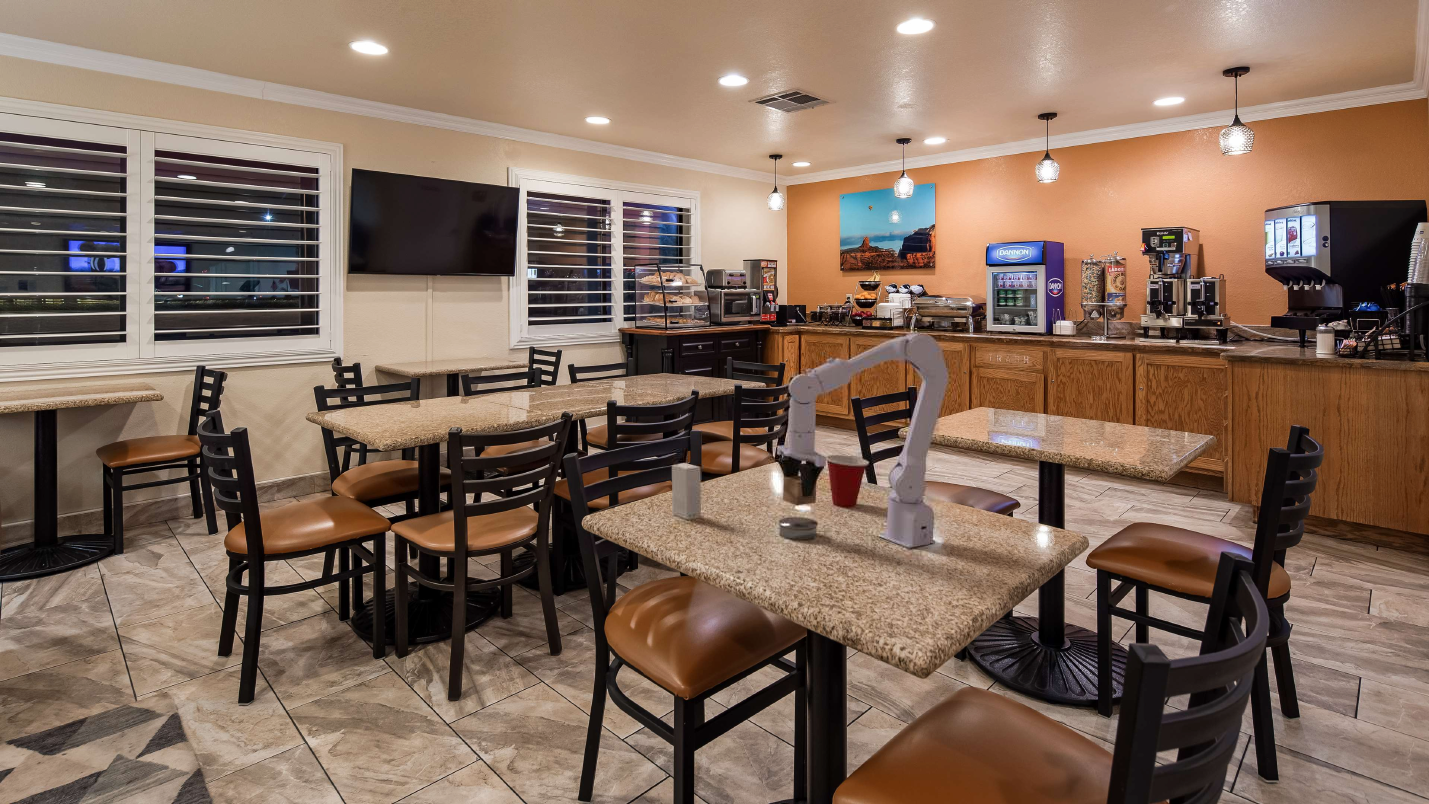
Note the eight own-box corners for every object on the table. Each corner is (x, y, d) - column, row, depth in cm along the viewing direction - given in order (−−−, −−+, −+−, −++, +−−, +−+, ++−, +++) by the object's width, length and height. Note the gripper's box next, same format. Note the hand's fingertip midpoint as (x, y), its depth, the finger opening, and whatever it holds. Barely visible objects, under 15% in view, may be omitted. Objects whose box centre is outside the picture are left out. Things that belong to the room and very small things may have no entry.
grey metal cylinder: (825, 538, 160) (825, 524, 160) (794, 544, 156) (794, 530, 156) (801, 528, 168) (801, 515, 167) (770, 533, 163) (771, 520, 163)
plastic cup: (870, 510, 183) (873, 462, 181) (826, 509, 183) (828, 461, 181) (863, 499, 194) (865, 454, 192) (821, 498, 194) (823, 453, 192)
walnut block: (815, 502, 160) (816, 479, 159) (796, 505, 158) (797, 482, 157) (801, 497, 164) (802, 475, 164) (782, 500, 162) (783, 477, 161)
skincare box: (701, 517, 174) (702, 466, 172) (686, 520, 171) (687, 468, 169) (685, 511, 179) (686, 462, 177) (670, 514, 176) (671, 464, 174)
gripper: (766, 427, 163) (764, 487, 165) (808, 437, 151) (805, 502, 152) (792, 425, 167) (790, 484, 168) (834, 435, 154) (832, 499, 156)
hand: (799, 493), depth 161 cm, fingers closed on walnut block, 5 cm apart
